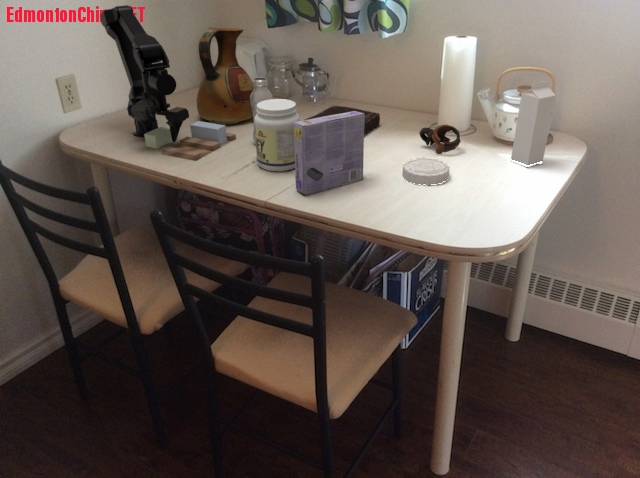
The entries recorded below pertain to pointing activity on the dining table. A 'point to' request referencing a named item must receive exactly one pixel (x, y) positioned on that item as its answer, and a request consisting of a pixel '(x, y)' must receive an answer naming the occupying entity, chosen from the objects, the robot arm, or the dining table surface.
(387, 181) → the dining table surface
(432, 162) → the mooncake
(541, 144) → the milk
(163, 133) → the sage block
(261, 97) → the plastic bottle
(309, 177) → the cake pan box
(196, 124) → the slate block
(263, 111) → the supplement tub
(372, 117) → the diary
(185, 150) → the slot rack
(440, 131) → the brown coiled piece
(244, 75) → the ceramic pitcher
